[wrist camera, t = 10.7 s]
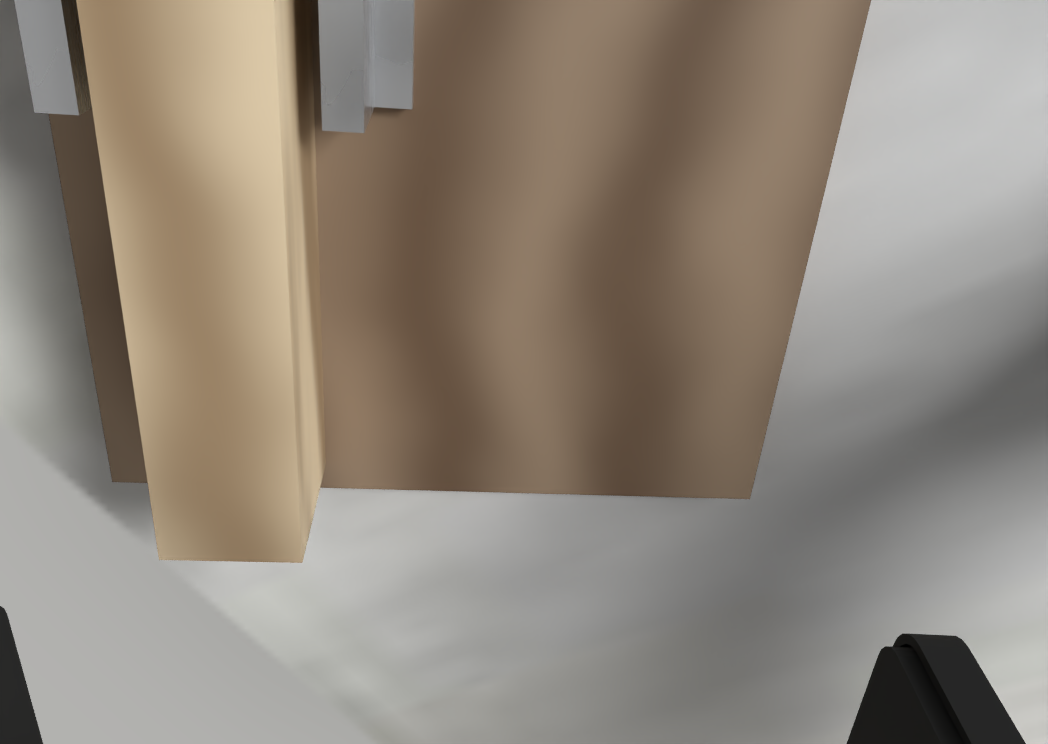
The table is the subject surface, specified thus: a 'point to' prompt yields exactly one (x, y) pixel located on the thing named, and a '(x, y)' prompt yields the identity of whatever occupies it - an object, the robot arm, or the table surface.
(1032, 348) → the table surface
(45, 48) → the bracket
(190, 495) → the rail
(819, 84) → the board
